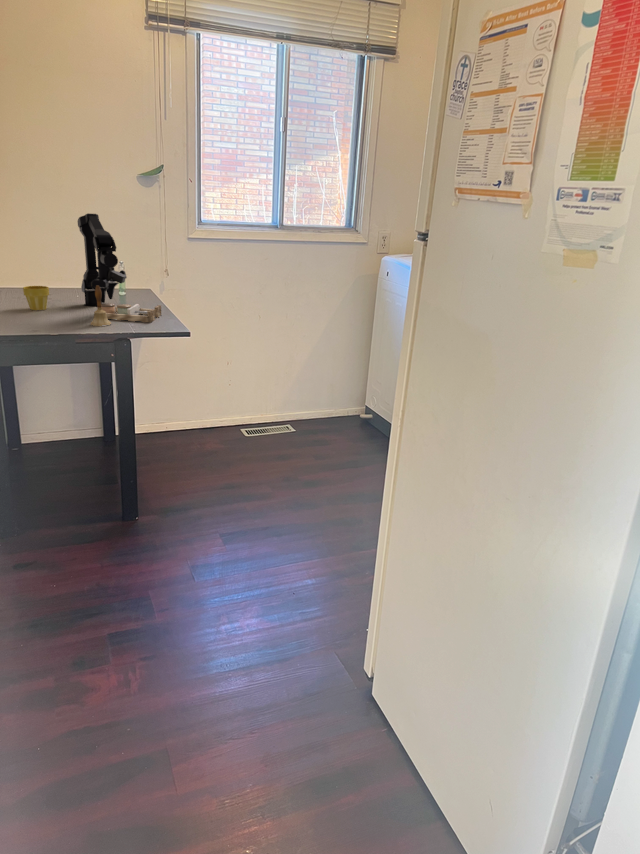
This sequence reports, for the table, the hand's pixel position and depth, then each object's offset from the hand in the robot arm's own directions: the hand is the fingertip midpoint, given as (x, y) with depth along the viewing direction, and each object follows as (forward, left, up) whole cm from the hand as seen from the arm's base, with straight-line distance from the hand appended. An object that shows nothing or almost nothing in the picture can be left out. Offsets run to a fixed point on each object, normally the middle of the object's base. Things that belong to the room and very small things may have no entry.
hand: (107, 300), depth 270 cm
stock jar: (+7, 0, -6) cm, 10 cm away
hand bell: (+3, -18, -7) cm, 19 cm away
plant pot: (-33, +3, -7) cm, 33 cm away
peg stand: (+15, 0, -6) cm, 16 cm away
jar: (0, 0, -6) cm, 7 cm away
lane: (+11, 0, -6) cm, 13 cm away
